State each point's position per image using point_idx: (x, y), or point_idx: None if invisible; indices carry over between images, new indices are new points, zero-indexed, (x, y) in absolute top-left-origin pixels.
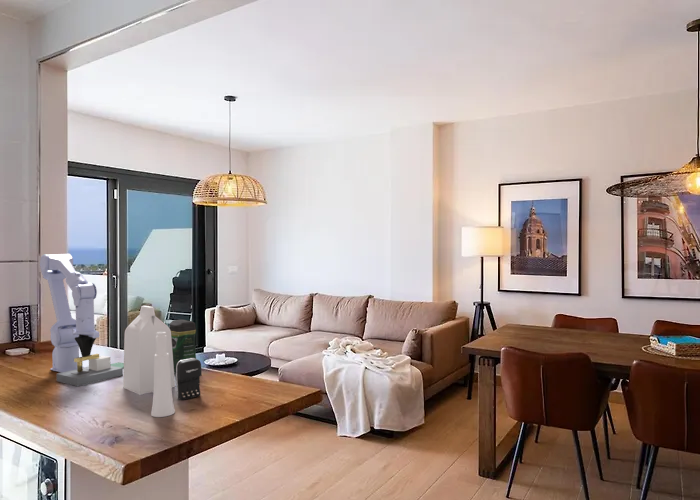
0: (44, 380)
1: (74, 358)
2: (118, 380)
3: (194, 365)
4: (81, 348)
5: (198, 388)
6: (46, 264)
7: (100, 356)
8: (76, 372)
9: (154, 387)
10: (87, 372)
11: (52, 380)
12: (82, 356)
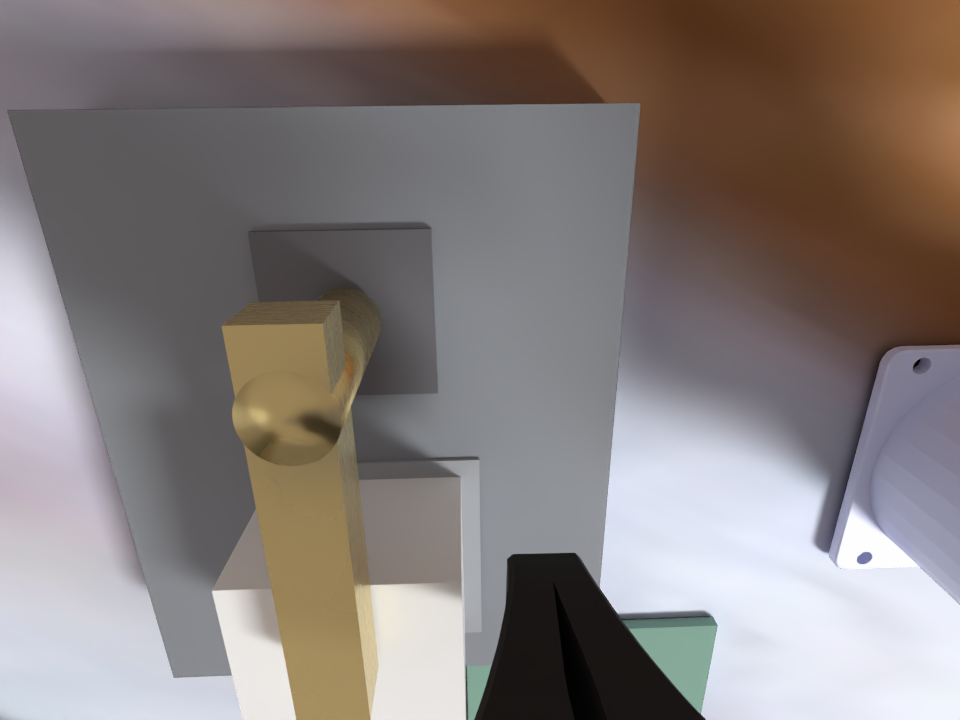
0: (807, 29)
1: (307, 323)
2: (16, 502)
3: None
4: (594, 683)
5: None
6: None
7: (416, 711)
8: (395, 292)
9: None
10: None
11: (699, 94)
12: (564, 556)
